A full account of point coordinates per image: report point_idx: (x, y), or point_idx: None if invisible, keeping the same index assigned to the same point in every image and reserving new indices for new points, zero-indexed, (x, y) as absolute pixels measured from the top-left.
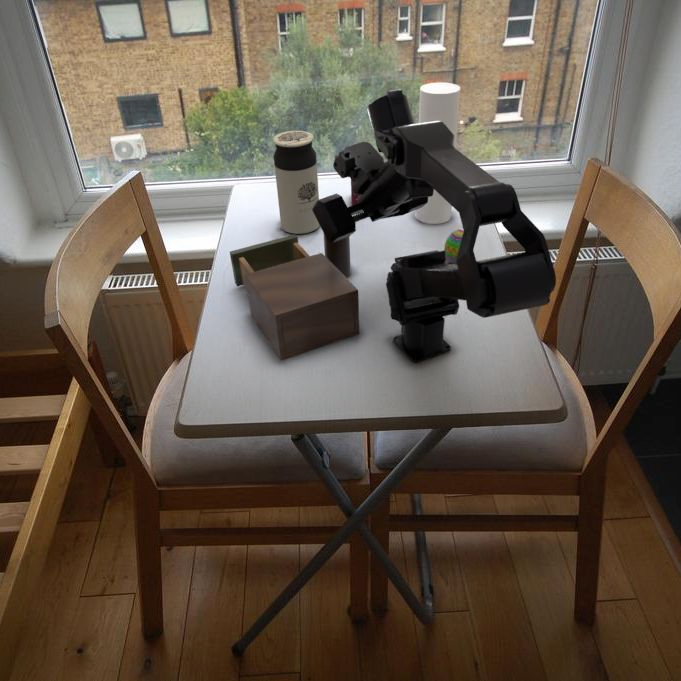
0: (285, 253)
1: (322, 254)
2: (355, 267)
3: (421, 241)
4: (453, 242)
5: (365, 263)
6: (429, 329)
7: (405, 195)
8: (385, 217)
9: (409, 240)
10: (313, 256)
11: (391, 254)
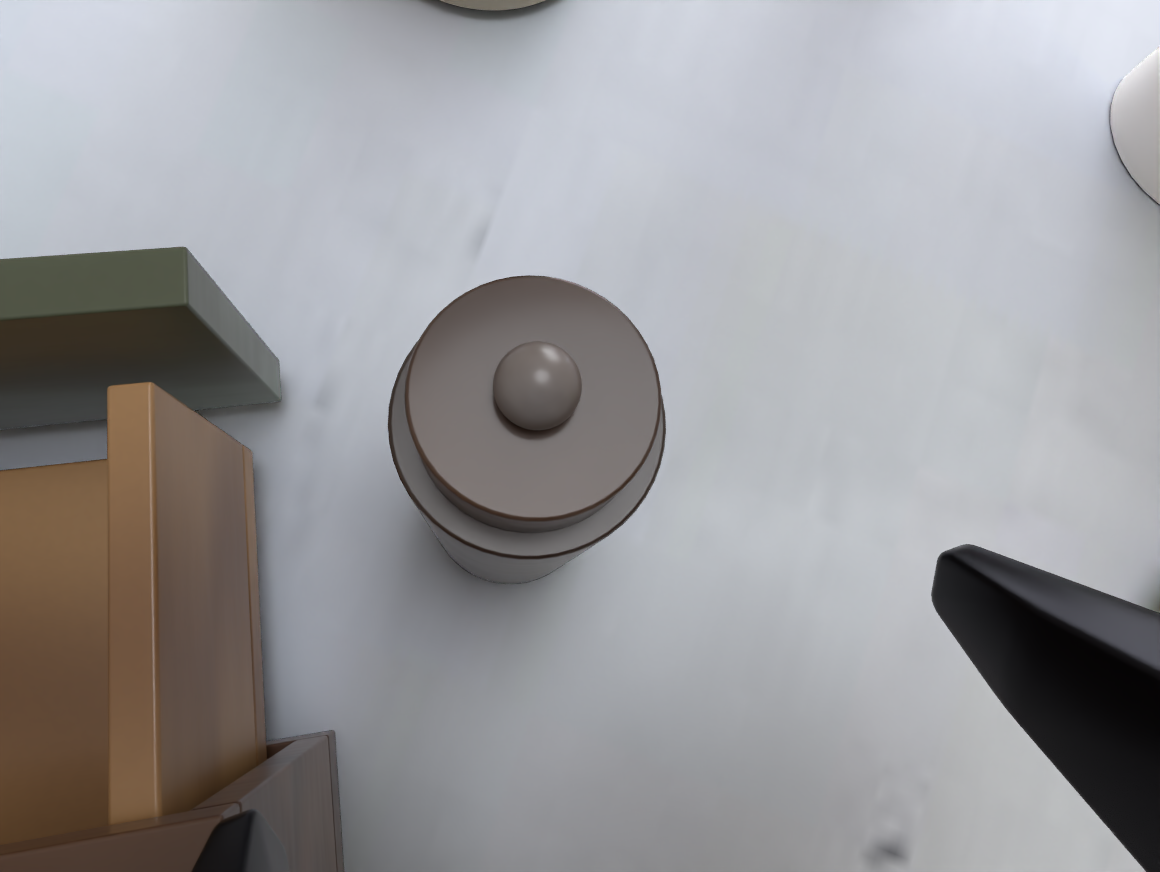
0: (105, 364)
1: None
2: None
3: (1075, 361)
4: None
5: (703, 462)
6: None
7: None
8: (1134, 852)
9: (1015, 323)
10: (98, 870)
11: (878, 427)
